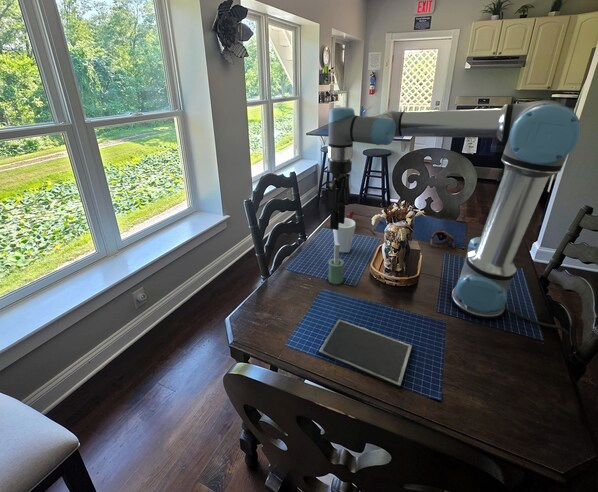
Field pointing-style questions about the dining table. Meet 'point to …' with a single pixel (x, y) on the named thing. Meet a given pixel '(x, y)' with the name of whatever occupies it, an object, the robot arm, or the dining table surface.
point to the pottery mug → (441, 237)
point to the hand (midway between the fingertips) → (337, 225)
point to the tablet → (367, 352)
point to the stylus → (336, 254)
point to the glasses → (360, 215)
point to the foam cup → (344, 235)
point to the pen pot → (336, 272)
